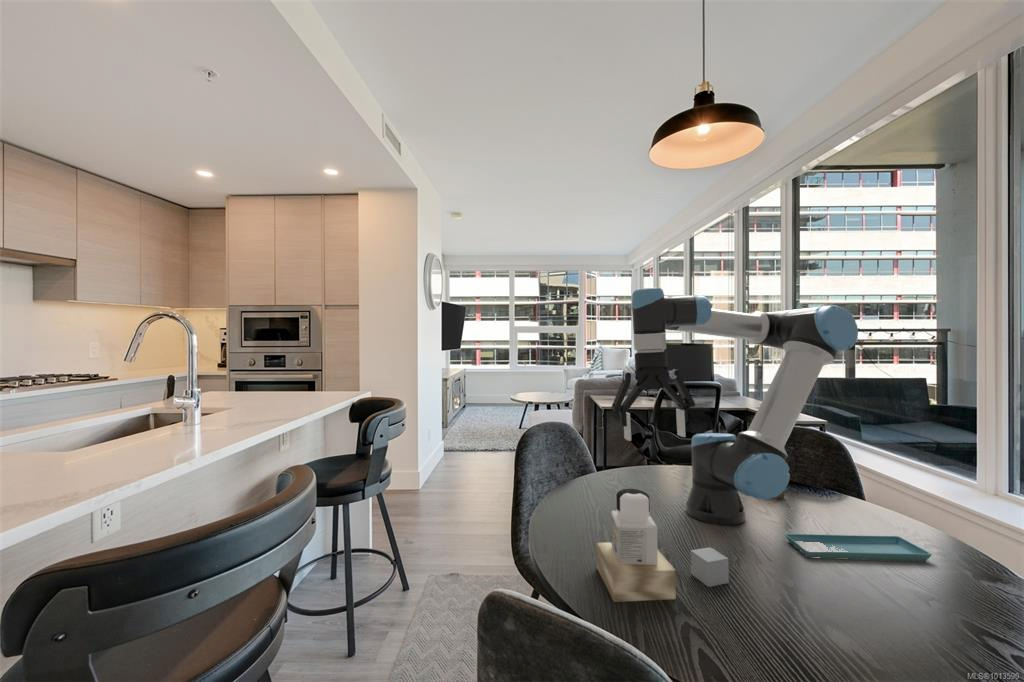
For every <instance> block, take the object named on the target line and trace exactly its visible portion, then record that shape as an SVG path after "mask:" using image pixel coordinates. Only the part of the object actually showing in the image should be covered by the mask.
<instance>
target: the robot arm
mask: <svg viewBox="0 0 1024 682" xmlns="http://www.w3.org/2000/svg"><path fill="white" fill-rule="evenodd" d="M631 296H632V297H631V310H632V326H633V327H632V328H633V348H634V351H636V352H635V354H634V366H635V371H634V372H628V371H623V372H622V379H621V380H622V381H621V383H620V386H619V388H618V390H617V393H616V395H615V397H614V400H613V402H612V405H611V407H610V408H611V410H613V411H615V412H618V413H619V424H620V426H622V427H623V437H624V439H625V440H626V441H627V442H628V441H629V442H630V441H632V427H631V426H632V425H631V413H630V412H628V411H629V409H630V408H631V407H632V405H633V404H634V403H635V402H636V400H637V398H638V397H639V396H640V395H641V393H642V392H644V390H647V391H650V390H654V389H655V390H663V391H664V392H665V394H666V395H668V397H669V398H670V400H672V401H673V402H674V403H675V404H676V406H677V407H679V408H676V409H675V411H676V412H675V413H676V414H675V416H676V431H677V433H676V435H677V436H678V437H679V436H680V437H681V438H686V437H687V436H686V423H688V421H689V417H688V416H689V413H688V411H689V410H690V408H692V407H695V406H696V402H695V401H694V398H693V396H692V395H691V393H690V392H689V390H688V388H687V385H686V384H685V381H684V380H683V378H682V372H681V370H680V369H675V368H674V369H671V370H668V356H667V352H666V351H665V350H666V349H667V339H666V338H667V337H666V336H667V335H666V331H667V330H668V331H675V332H677V331H678V332H684V333H692V334H694V333H695V334H700V335H706V336H707V335H708V336H716V337H717V336H718V337H725V338H731V339H740V340H746V341H747V342H748V343H750V344H753V345H760V346H765V347H771V348H775V349H781V350H784V352H785V354H784V356H783V359H782V361H781V363H780V364H779V367H778V369H777V371H776V373H775V375H774V376H773V379H772V381H771V382H770V384H769V387H768V389H767V390H766V393H765V394H764V397H763V399H762V401H761V403H760V405H759V406H758V408H757V411H756V413H755V415H754V417H753V419H752V421H751V423H750V425H749V427H748V428H747V430H745V431H740V432H738V434H737V436H736V435H735V434H732V433H721V432H714V433H712V432H708V433H707V432H706V433H696V434H694V435H693V436H692V438H691V446H690V449H691V477H692V479H691V481H692V482H691V483H692V484H691V488H690V490H689V494H688V496H687V500H686V503H685V505H686V506H685V507H686V508H685V509H686V513H687V514H688V515H689V516H690V517H692V518H694V519H696V520H699V521H702V522H704V523H705V522H706V523H709V524H714V525H720V526H734V525H740V524H742V523H744V522H745V521H746V510H745V508H744V505H743V502H742V499H741V497H740V494H739V492H740V493H741V494H742V495H744V496H747V497H750V498H751V497H752V498H754V499H757V500H762V501H764V500H765V501H766V500H770V499H772V498H774V497H776V496H778V495H780V494H781V493H782V492H783V491H784V492H785V490H786V488H787V487H788V485H789V482H790V479H791V474H790V473H789V471H790V467H789V465H788V463H787V462H786V460H787V458H788V454H787V451H786V449H785V447H786V446H785V445H786V443H787V441H788V439H789V438H790V436H791V434H792V431H793V429H794V427H795V425H796V423H797V421H798V419H799V416H800V414H801V413H802V411H803V408H804V406H805V404H806V402H807V400H808V398H809V396H810V394H811V392H812V389H813V387H814V385H815V383H816V382H817V379H818V377H819V375H820V373H821V371H822V369H823V368H824V366H827V365H831V364H833V363H834V361H835V359H836V356H837V354H838V353H839V352H844V351H848V350H849V349H852V347H854V346H855V345H856V342H857V340H858V337H859V329H858V324H857V323H856V319H855V317H854V316H853V314H852V313H851V312H850V311H849V310H848V309H846V308H844V307H842V306H840V305H819V306H816V307H814V306H813V307H806V308H805V307H804V308H798V309H797V308H796V309H787V310H781V311H780V310H779V311H769V312H767V311H766V312H765V311H763V312H762V311H754V312H753V313H747V312H746V313H745V312H738V311H731V310H725V309H724V310H723V309H715V308H712V304H711V301H710V300H709V299H708V297H706V296H704V295H695V294H692V295H677V296H675V295H674V296H669V295H668V296H665V293H664V289H663V288H662V287H646V288H638V289H635V290H634V291H633V292H632V295H631ZM668 378H670V379H672V381H673V383H674V385H675V387H676V388H677V390H678V393H679V394H680V395H679V394H678V393H677V392H676V391H675V390H674V389H673V388H672V386H671V384H669V382H667V380H668ZM633 379H635V380H636V383H635V384H634V386H633V389H632V390H631V392H629V394H628V396H626V394H627V392H628V390H629V387H630V386H631V382H633ZM625 396H626V398H625ZM681 397H682V398H681Z"/></svg>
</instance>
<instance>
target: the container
mask: <svg viewBox="0 0 1024 682" xmlns="http://www.w3.org/2000/svg"><path fill="white" fill-rule="evenodd" d="M650 500H651V499H650V495H649V494H648V493H647V492H645V491H644V490H641V489H638V488H637V489H636V488H625V489H621V490H619V491H617V493H616V510H611V511H610V514H611V516H610V517H611V520H610V521H611V523H610V524H611V525H610V526H611V542H612V547H613V550H614V553H615V556H616V559H617V562H618V563H619V564H629V565H657V564H658V550H659V549H658V526H657V524H656V522H655V521H654V519H653V518H652V517H651V509H650V507H651V506H650V504H651V503H650Z"/></svg>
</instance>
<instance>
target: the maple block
mask: <svg viewBox="0 0 1024 682" xmlns="http://www.w3.org/2000/svg"><path fill="white" fill-rule="evenodd" d="M596 568H597V569H596V570H597V571H598V572H599V575H600V577H601V578H602V581H603V583H604V585H605V587H606V589H607V591H608V593H609V595H610V597H611V598H612V602H613V603H618V602H619V603H620V602H638V601H639V602H640V601H664V600H676V598H677V597H676V595H677V594H676V592H677V591H676V585H677V584H676V583H677V582H676V569H675V568H674V567H673V565H672V563H670V562H669V561H668V560H667V559H666V557H665V556H664V555H663V554H662V552H660V550H659V549H658V564H657V565H629V564H619V563H618V562H617V559H616V556H615V553H614V550H613V547H612V541H611V542H609V541H608V542H596Z"/></svg>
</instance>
